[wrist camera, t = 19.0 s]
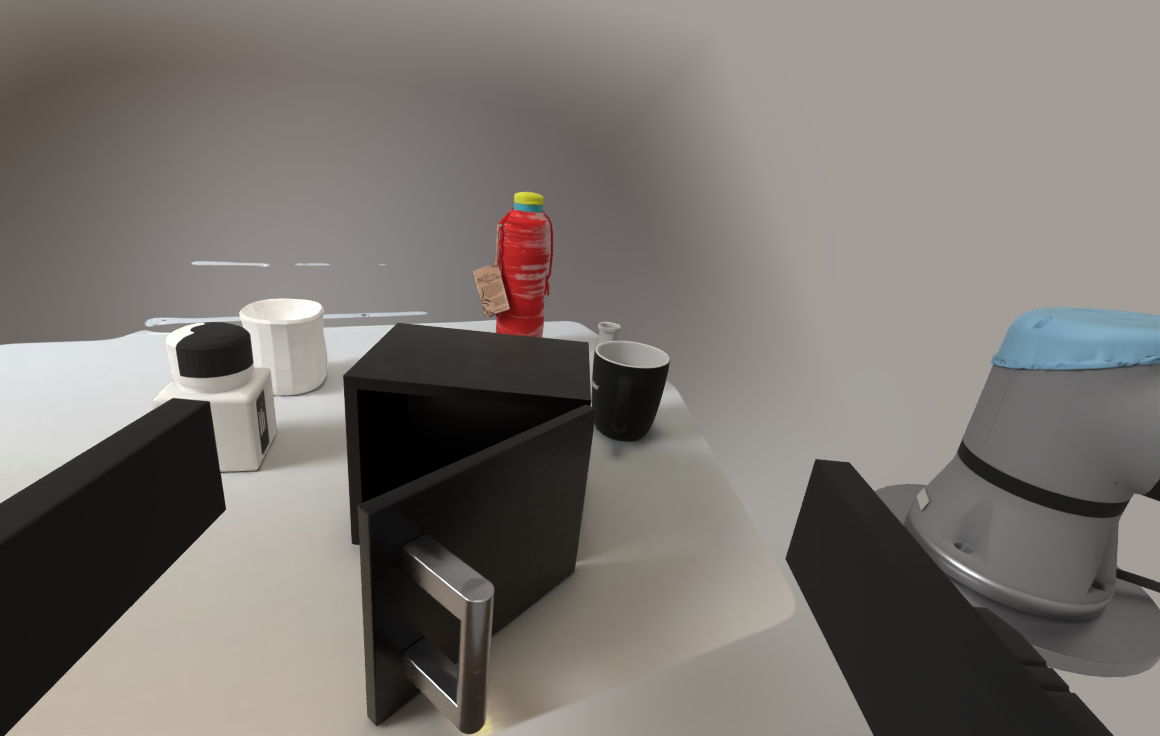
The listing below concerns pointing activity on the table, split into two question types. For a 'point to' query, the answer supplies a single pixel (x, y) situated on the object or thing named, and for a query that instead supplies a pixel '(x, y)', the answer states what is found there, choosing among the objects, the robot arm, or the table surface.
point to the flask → (604, 340)
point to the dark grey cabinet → (450, 400)
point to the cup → (288, 343)
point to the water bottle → (519, 269)
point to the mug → (627, 387)
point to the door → (467, 564)
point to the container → (224, 389)
